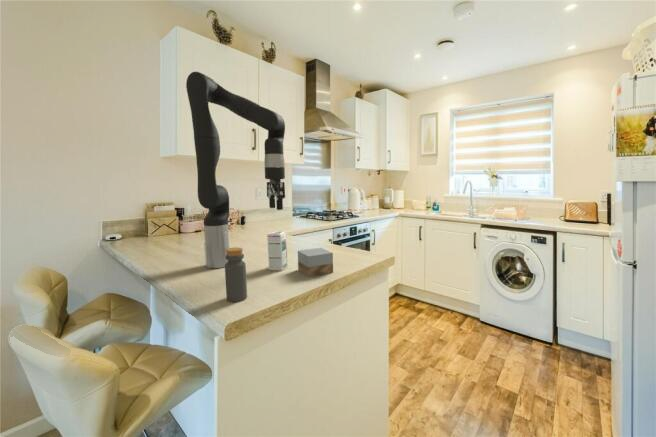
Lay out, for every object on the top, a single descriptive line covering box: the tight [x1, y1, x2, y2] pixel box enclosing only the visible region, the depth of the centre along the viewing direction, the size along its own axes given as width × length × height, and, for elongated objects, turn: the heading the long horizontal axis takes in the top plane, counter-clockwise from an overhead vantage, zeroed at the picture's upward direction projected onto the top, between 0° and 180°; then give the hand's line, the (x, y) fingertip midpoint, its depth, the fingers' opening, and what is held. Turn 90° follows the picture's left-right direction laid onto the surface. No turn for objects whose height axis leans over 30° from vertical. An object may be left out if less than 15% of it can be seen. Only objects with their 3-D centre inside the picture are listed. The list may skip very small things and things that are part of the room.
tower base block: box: [297, 260, 334, 278], centre depth 115 cm, size 10×10×4 cm
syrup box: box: [266, 231, 288, 272], centre depth 118 cm, size 6×6×14 cm
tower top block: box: [297, 247, 334, 267], centre depth 114 cm, size 10×10×4 cm
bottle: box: [224, 247, 248, 303], centre depth 88 cm, size 6×6×15 cm
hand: (276, 208), depth 116 cm, fingers open, 8 cm apart
